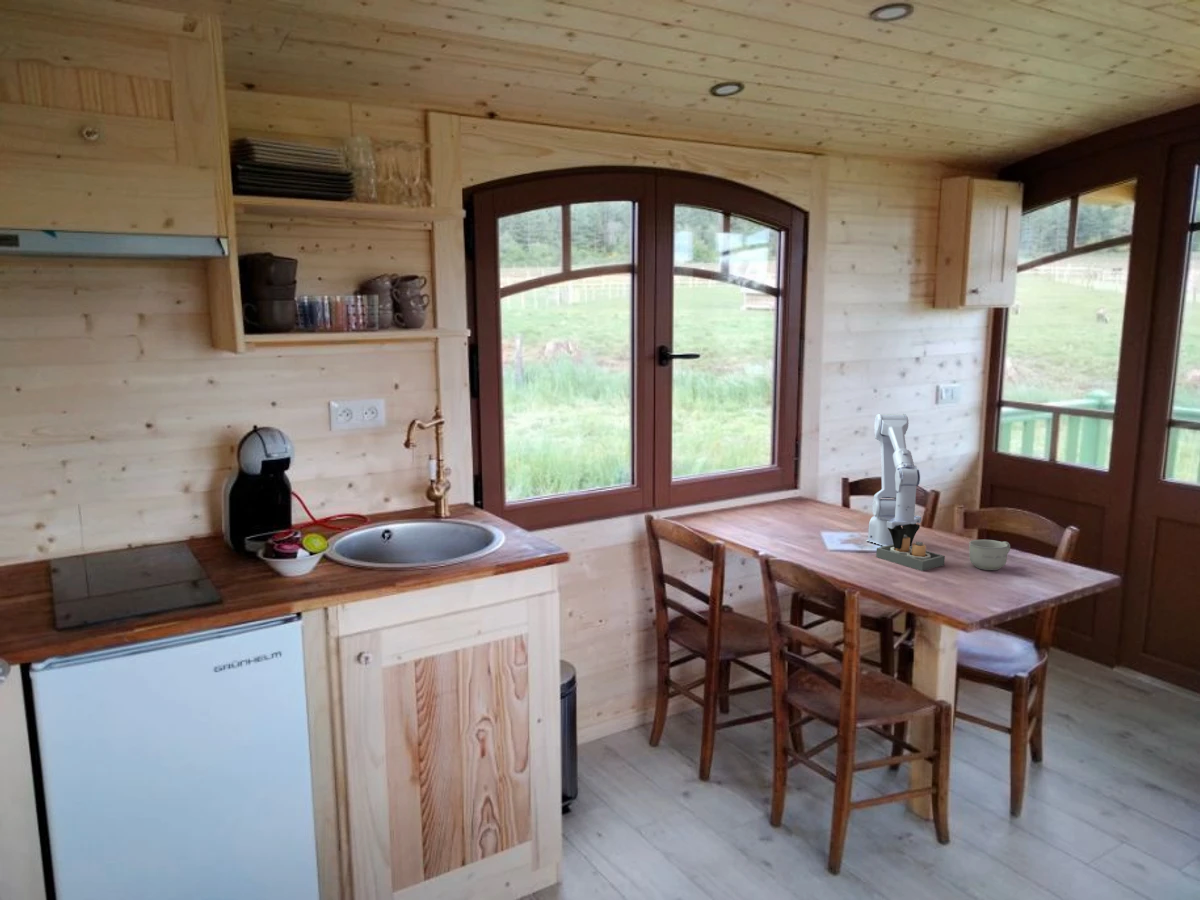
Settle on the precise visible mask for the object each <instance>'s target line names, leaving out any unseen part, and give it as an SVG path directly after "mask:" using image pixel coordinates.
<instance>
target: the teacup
mask: <svg viewBox="0 0 1200 900" xmlns="http://www.w3.org/2000/svg"><path fill="white" fill-rule="evenodd" d="M968 544H969V550H968V551H969V553H968V555H969V561H970V563H971V564H972V565H973V566H974V567H975V568H977V569H979V570H982V571H983V570H984V571H998V570H1000V569H1001V568H1003V567H1005V565H1006V563H1007V560H1008V554H1009V553H1010V551H1011V544H1010V543H1009V542H1008V541H999V540H994V539H973V540H970V541H969V542H968Z"/></svg>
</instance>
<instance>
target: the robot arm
mask: <svg viewBox="0 0 1200 900" xmlns="http://www.w3.org/2000/svg"><path fill="white" fill-rule="evenodd" d="M873 430H874V436H875V437H874V438H875V439H876V440H877V441H878V442H879V444H880V445H879V447H880V465H881V466H880V471H881V472H880V473H881V474H880V475H881V489H880V490H879V491H877V492H876V493H875V494H874V495H873V497H872V499H873V501H872V516H871V518H870V520H869V522H868V536H867V539H866V540H865V541H866V542H867V541H870V542H873V543H872V544H874V543H876V544H875V545H877V544H881V545H883V546H888V545H892V544H894V548H897V549H901V546H902V540H903V536H904V534H905V535H907V537H910V547H912V544H913V541H914V538H915V536H916V534H917V532H918V531H919V529H920V527H921V525H920V523H922V516H921V515H915V510H916V501H917V500H916V499H917V498H916V497H917V487H918V486H919V485H920V483H921V472H920V469H919V468H918V467H917V465H915V463H914V459H913V455H912V452H911V450H909V449H907V444H906V442H907V441H906V436H905V435H906V433H907V431H908V430H909V418H908V416H907V414H904V413H903V414H885V413H877V414H876V415H875V418H874V429H873ZM870 542H869V543H870ZM881 545H880V546H881ZM883 546H882V547H883Z"/></svg>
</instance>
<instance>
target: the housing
mask: <svg viewBox="0 0 1200 900" xmlns="http://www.w3.org/2000/svg"><path fill="white" fill-rule="evenodd" d="M875 557H876V558H878V559H881V560H885V561H889V562H891V563H894V562H895V563H894V564H897V563H898V565H900V566H905V567H908V568H910V567H911V569H914V568H915V569H914V570H917V569H918V570H917V571H921V572H925V571H927V570H931V568H932V569H935V567H936V568H940V567H943V566H945V560H946V556H945V555H942V554H939V553H936V552H932V551H929V550H927V545H926V544H924V542H923V541H916V542H915V543H912V544H911V547H910V548H909V552H899V551H896V548H894V544H892V545H888V546H879V547H876V554H875Z"/></svg>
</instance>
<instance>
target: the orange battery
mask: <svg viewBox="0 0 1200 900" xmlns="http://www.w3.org/2000/svg"><path fill="white" fill-rule="evenodd" d="M909 548H910V537H907V535H905V534H904V536H903V540H902V546H901V549H897V548H896V551H899V552H909Z"/></svg>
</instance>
